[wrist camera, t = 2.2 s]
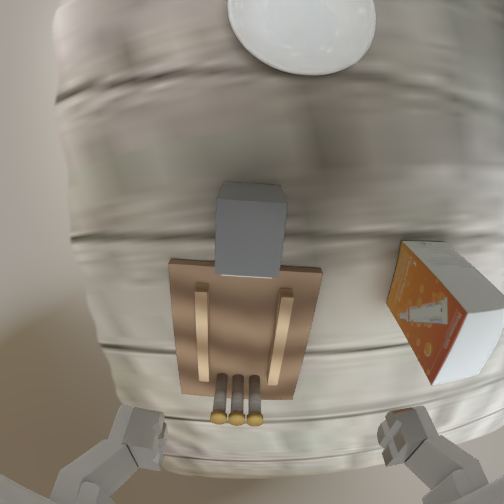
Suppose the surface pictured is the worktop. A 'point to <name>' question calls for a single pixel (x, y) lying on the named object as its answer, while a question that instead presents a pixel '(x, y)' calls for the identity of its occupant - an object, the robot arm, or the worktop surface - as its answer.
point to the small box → (445, 310)
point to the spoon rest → (304, 32)
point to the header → (241, 334)
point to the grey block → (249, 230)
